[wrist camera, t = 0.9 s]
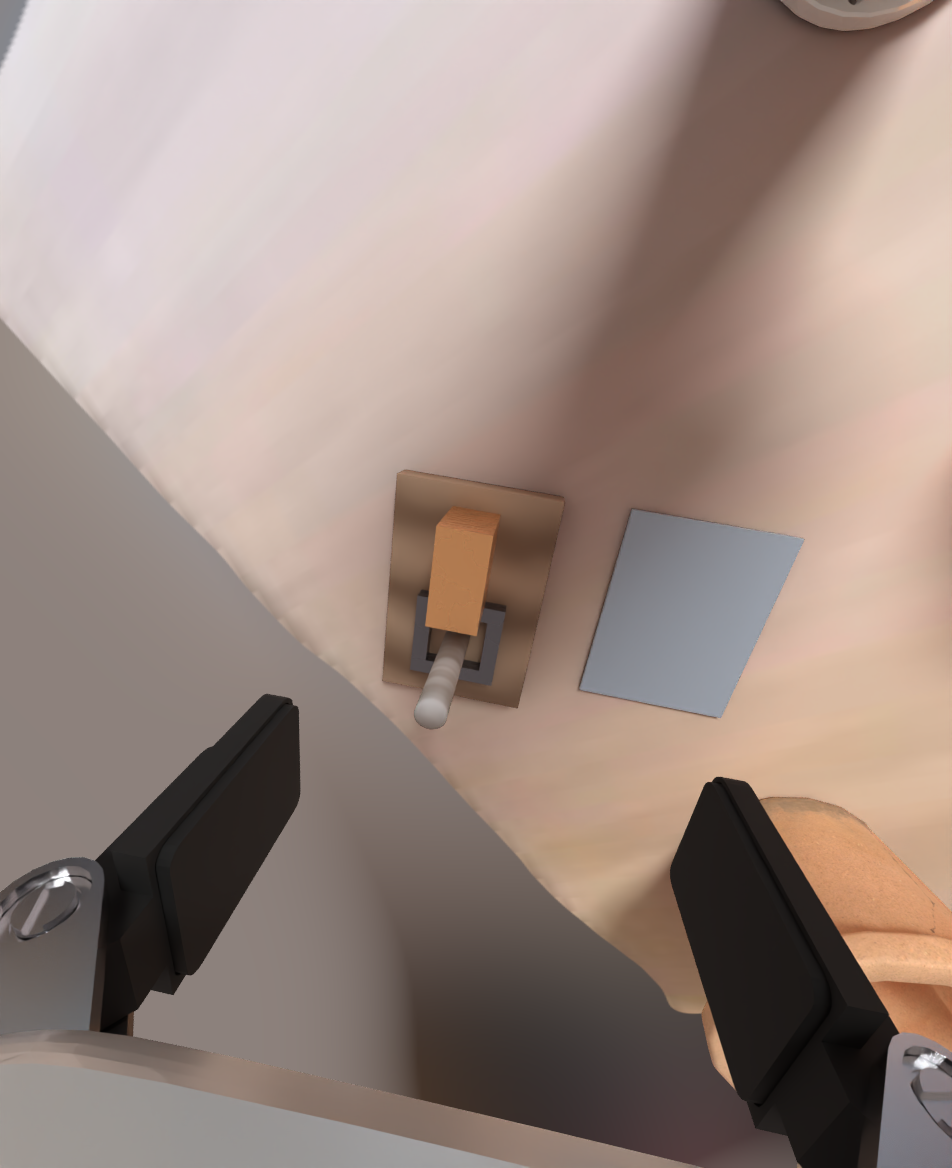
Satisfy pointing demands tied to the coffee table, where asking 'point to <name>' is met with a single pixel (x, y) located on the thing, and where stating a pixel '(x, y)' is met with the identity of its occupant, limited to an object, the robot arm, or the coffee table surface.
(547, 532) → the post stand
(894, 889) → the pottery
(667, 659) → the mat
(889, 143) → the coffee table surface
